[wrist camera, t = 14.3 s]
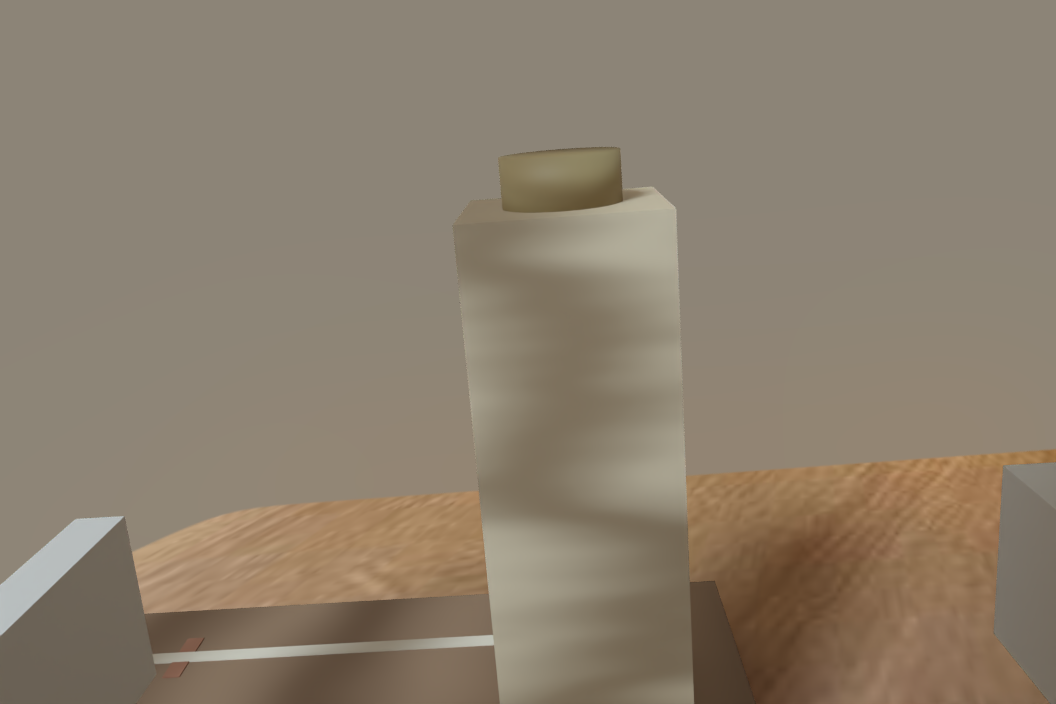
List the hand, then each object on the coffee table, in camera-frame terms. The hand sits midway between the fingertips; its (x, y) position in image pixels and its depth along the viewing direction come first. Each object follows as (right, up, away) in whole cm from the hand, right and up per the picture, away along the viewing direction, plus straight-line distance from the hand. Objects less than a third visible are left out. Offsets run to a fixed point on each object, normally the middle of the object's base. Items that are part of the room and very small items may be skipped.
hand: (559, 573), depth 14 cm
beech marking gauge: (+1, -6, +8) cm, 10 cm away
